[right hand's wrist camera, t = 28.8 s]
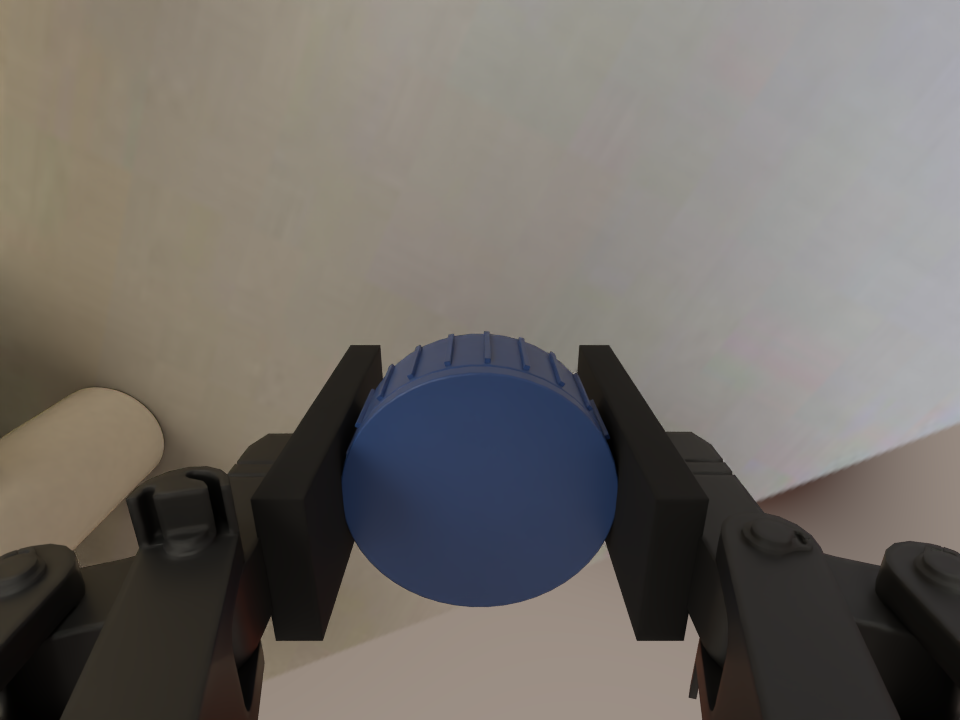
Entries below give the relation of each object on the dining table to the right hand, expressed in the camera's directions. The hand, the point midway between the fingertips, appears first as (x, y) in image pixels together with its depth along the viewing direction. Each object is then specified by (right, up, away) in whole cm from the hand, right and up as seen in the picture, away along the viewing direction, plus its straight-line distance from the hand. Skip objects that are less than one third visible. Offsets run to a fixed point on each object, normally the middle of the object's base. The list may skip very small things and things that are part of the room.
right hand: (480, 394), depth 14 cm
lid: (0, -2, -4) cm, 4 cm away
